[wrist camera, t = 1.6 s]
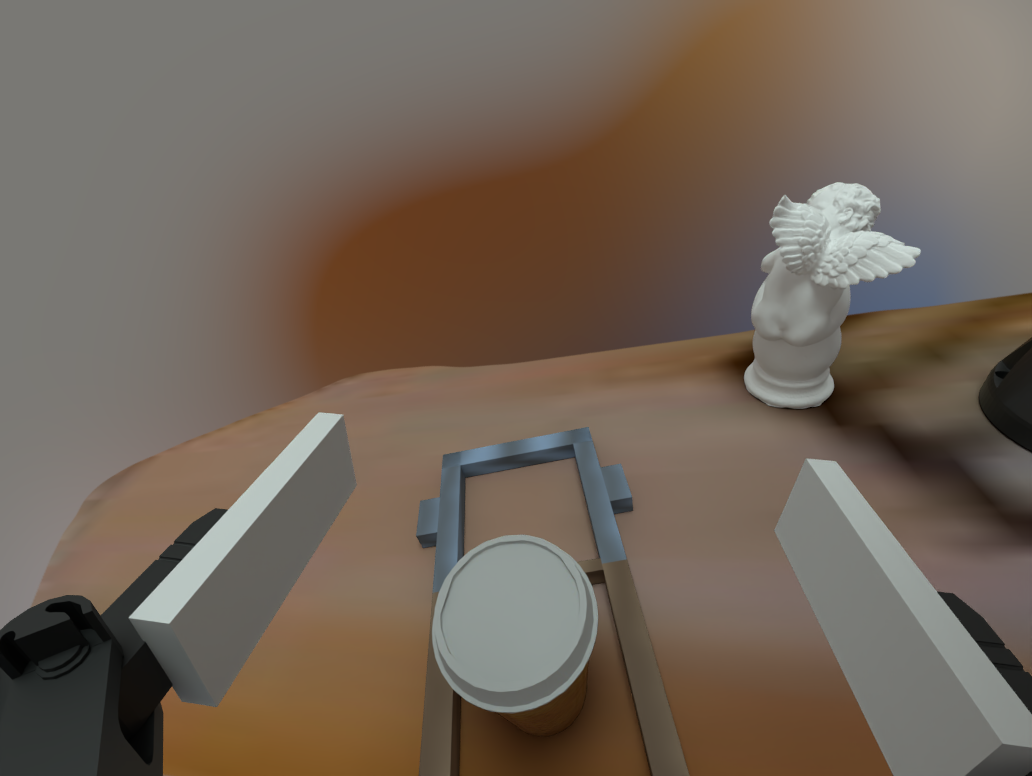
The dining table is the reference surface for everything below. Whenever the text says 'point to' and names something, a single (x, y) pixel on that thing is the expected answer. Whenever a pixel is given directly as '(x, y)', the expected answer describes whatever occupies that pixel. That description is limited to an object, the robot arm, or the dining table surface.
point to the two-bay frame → (603, 500)
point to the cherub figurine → (815, 290)
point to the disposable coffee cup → (517, 632)
